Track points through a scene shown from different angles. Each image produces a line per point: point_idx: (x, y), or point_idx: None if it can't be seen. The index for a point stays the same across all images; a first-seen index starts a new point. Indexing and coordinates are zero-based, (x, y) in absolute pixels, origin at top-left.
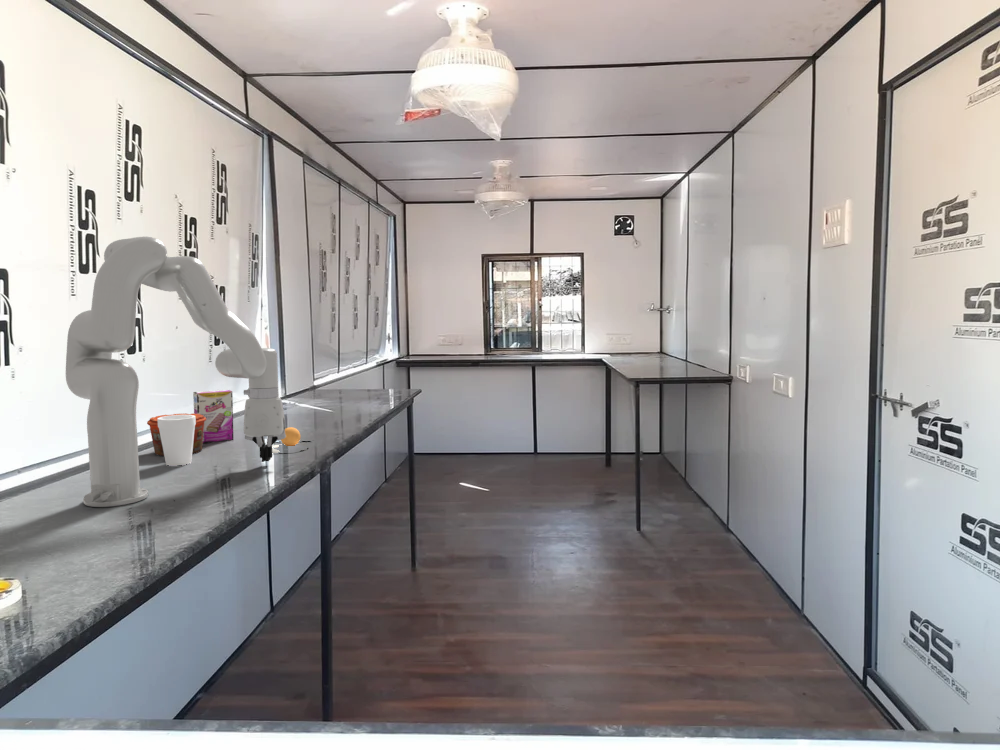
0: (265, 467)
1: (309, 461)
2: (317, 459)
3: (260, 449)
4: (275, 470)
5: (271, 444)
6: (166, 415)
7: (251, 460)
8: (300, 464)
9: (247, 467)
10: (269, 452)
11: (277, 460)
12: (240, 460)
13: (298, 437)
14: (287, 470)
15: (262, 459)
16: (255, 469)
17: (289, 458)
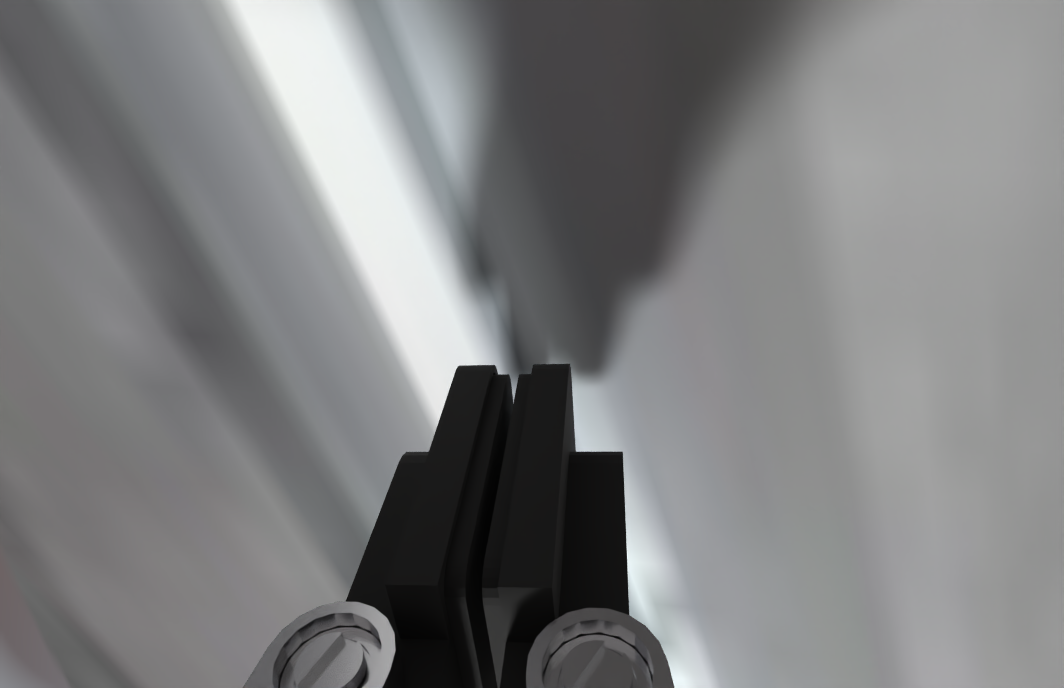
0: (509, 284)
1: (74, 549)
2: (49, 616)
3: (602, 579)
4: (225, 43)
5: (270, 677)
6: None
7: (828, 653)
8: (79, 424)
9: (824, 302)
10: (406, 516)
11: None
12: (977, 666)
13: None
14: (3, 36)
15: (552, 377)
16: (642, 144)
17: None
